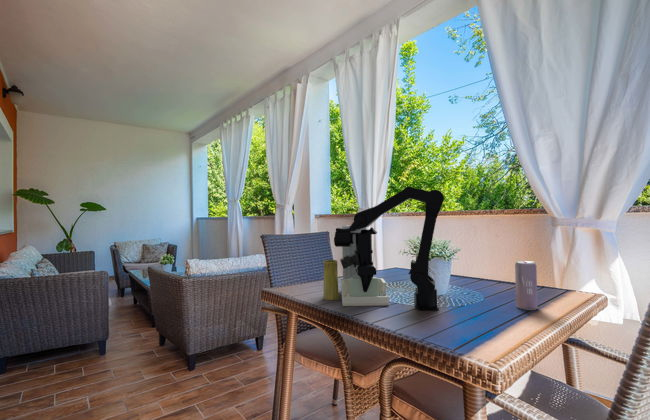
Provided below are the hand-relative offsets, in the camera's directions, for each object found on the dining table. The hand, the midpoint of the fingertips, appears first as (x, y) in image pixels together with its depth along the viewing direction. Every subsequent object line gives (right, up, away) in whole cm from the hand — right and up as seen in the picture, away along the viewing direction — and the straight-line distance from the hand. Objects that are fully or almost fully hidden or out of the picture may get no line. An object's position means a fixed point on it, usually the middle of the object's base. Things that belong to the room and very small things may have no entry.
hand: (364, 291), depth 115 cm
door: (0, -2, 0) cm, 2 cm away
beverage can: (+52, -3, -9) cm, 53 cm away
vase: (-12, -5, +8) cm, 15 cm away
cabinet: (0, -5, +4) cm, 6 cm away
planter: (-2, -5, +19) cm, 20 cm away
